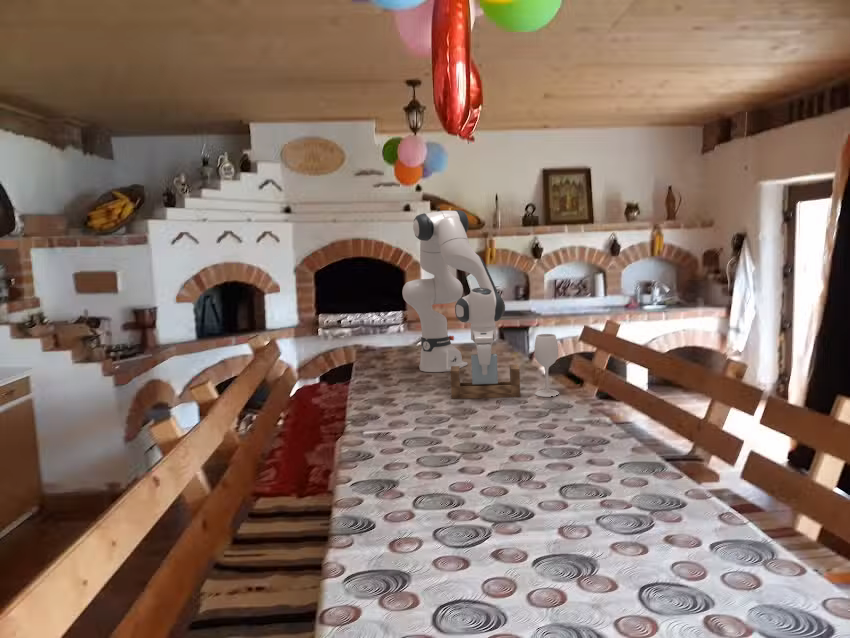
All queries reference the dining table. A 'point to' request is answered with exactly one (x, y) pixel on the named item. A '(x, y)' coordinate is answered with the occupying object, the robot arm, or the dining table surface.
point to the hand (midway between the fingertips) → (484, 372)
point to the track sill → (485, 386)
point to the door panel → (491, 371)
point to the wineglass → (546, 358)
